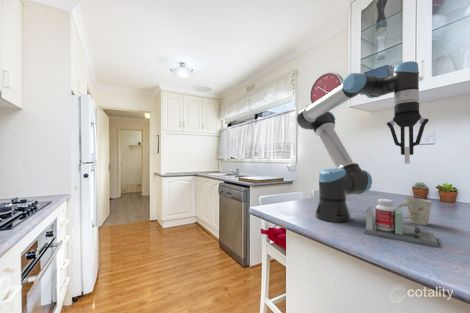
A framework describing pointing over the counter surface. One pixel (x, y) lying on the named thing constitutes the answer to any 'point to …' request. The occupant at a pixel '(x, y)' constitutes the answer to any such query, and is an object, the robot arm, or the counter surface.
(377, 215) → the pill bottle
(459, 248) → the counter surface
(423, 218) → the mug
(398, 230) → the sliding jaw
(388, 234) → the vise base
